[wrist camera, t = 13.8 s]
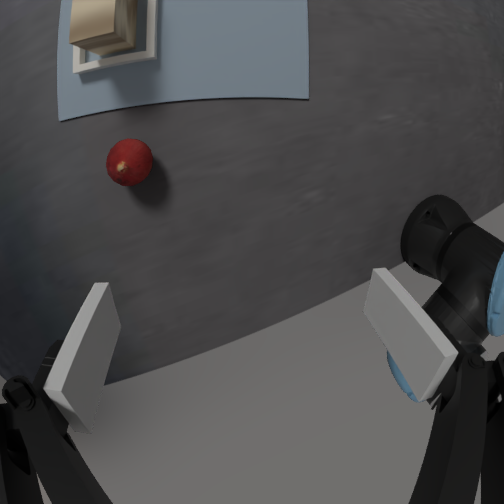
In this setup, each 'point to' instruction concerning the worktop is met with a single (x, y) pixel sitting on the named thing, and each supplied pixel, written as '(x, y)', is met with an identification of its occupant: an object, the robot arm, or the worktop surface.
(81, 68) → the frame
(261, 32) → the mat
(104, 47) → the block
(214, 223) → the worktop surface
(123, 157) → the onion
